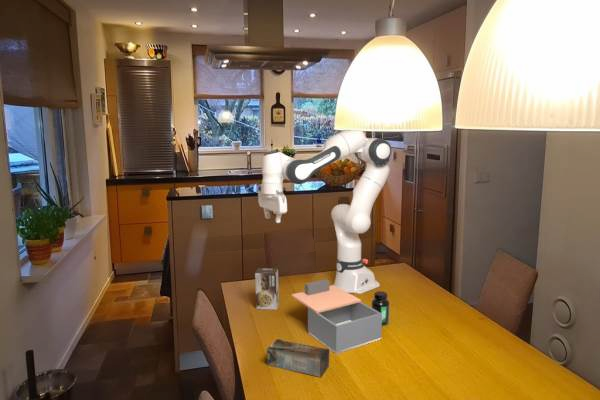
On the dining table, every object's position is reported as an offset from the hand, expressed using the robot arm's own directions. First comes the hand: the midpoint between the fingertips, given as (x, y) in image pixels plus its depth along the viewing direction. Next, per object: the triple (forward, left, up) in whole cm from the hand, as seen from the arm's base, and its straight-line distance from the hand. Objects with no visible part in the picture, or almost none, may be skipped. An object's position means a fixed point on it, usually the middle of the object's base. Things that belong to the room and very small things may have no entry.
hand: (272, 220), depth 193 cm
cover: (-5, +34, -25) cm, 42 cm away
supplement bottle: (-24, +44, -35) cm, 61 cm away
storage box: (-5, +46, -35) cm, 58 cm away
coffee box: (+7, +8, -35) cm, 37 cm away
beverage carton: (+19, +54, -36) cm, 68 cm away
